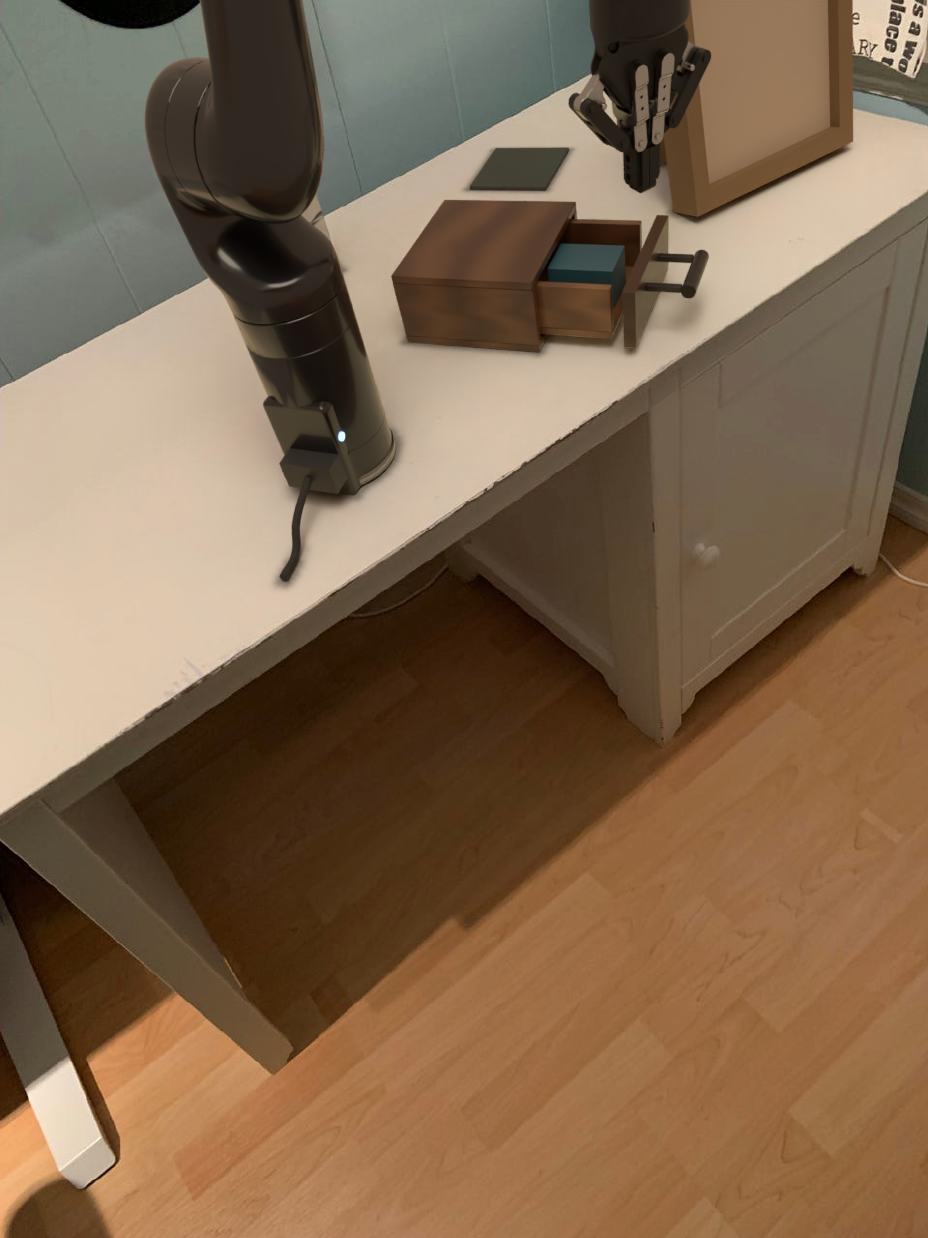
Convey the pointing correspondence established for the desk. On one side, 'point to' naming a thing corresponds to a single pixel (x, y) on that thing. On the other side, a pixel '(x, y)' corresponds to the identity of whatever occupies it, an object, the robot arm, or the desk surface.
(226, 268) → the robot arm
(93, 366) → the desk surface
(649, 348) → the desk surface
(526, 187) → the mat
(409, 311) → the cabinet
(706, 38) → the photo frame
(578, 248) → the card box
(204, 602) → the desk surface
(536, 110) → the desk surface
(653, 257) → the drawer
